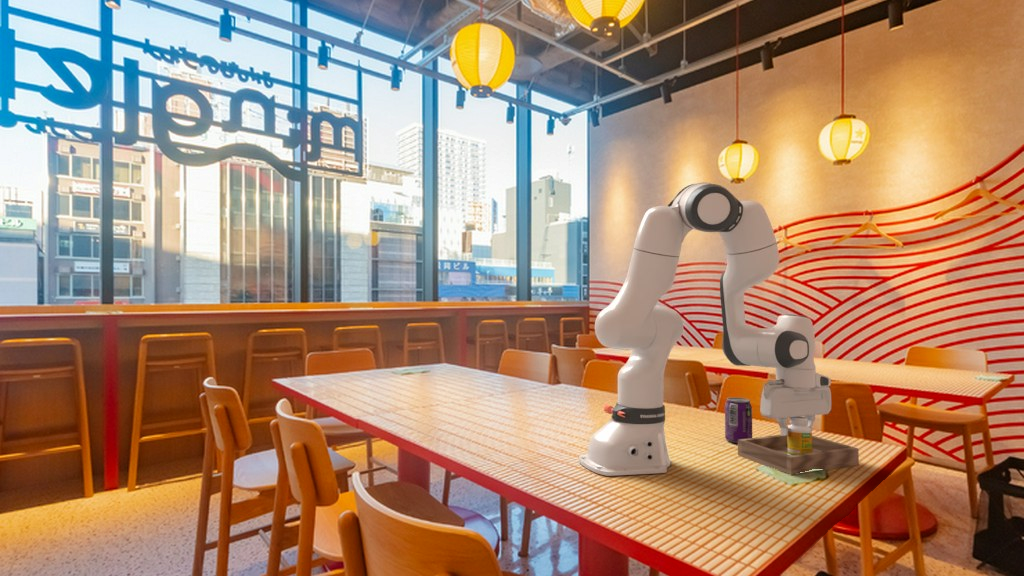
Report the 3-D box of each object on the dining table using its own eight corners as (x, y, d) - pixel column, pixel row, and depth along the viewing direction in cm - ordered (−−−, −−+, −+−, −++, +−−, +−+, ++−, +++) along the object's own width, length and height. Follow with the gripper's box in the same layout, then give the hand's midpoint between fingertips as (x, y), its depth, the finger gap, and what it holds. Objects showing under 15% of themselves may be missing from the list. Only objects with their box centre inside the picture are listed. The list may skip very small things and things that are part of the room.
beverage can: (757, 445, 138) (756, 401, 138) (731, 445, 138) (730, 401, 138) (745, 438, 145) (745, 397, 145) (721, 438, 145) (720, 397, 146)
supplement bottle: (804, 460, 120) (802, 420, 121) (783, 455, 125) (781, 416, 125) (817, 458, 122) (815, 418, 123) (796, 453, 127) (794, 415, 128)
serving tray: (791, 475, 114) (791, 457, 114) (737, 455, 129) (737, 439, 129) (858, 464, 121) (858, 448, 121) (800, 447, 136) (800, 432, 136)
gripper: (774, 382, 119) (775, 440, 118) (835, 378, 126) (836, 433, 125) (753, 378, 125) (754, 434, 124) (813, 375, 132) (814, 427, 131)
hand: (796, 433), depth 125 cm, fingers open, 5 cm apart
